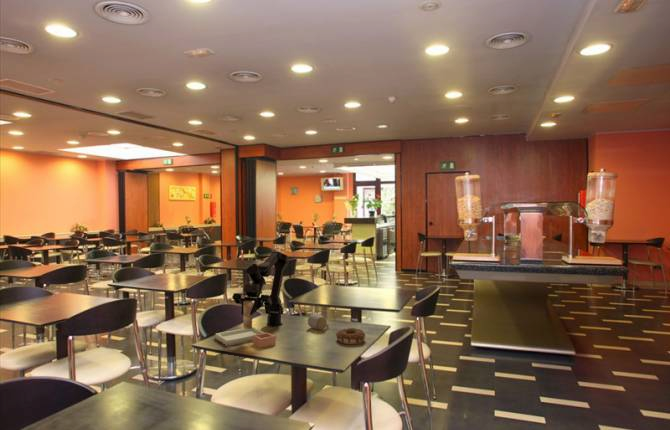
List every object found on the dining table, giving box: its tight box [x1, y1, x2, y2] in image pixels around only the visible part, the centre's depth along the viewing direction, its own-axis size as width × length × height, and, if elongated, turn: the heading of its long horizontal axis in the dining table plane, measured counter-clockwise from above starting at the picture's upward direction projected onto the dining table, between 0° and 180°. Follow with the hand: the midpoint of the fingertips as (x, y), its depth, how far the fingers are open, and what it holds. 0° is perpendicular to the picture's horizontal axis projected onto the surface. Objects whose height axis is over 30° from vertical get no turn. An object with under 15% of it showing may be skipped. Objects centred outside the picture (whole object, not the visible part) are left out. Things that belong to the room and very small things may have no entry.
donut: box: [335, 327, 366, 345], centre depth 201 cm, size 14×14×5 cm
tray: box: [215, 326, 266, 347], centre depth 204 cm, size 20×14×2 cm
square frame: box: [252, 332, 276, 349], centre depth 195 cm, size 8×8×4 cm
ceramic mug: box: [307, 312, 330, 331], centre depth 222 cm, size 11×8×8 cm
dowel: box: [242, 301, 253, 329], centre depth 198 cm, size 4×4×12 cm
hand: (246, 314), depth 196 cm, fingers closed on dowel, 4 cm apart
